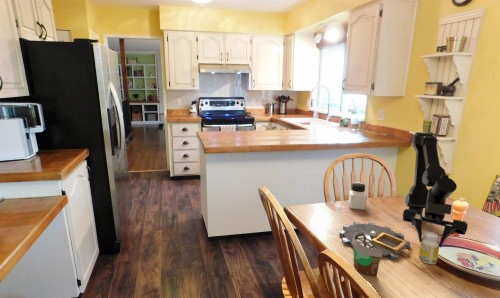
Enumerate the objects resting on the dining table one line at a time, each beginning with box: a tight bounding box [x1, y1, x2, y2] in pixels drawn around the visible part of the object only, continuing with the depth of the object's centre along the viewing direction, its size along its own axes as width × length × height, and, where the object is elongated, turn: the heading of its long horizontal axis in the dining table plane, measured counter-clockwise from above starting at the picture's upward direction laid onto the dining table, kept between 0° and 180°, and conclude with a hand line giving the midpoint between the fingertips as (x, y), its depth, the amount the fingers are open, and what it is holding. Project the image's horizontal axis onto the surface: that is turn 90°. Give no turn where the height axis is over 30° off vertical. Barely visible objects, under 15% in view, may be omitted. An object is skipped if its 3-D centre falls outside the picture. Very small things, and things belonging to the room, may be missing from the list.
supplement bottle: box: [418, 231, 440, 265], centre depth 98 cm, size 5×5×10 cm
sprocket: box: [339, 221, 411, 261], centre depth 110 cm, size 25×25×4 cm
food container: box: [352, 232, 383, 278], centre depth 93 cm, size 12×6×10 cm, turn 5°
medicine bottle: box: [348, 182, 368, 211], centre depth 141 cm, size 7×7×12 cm
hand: (430, 244), depth 96 cm, fingers closed on supplement bottle, 5 cm apart
